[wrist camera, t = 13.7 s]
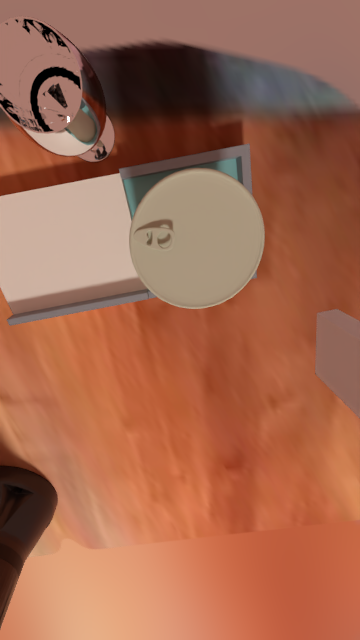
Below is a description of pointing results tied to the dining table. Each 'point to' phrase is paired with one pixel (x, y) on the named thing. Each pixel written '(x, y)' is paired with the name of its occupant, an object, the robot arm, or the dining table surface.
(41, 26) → the wineglass
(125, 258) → the two-tone serving tray
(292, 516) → the dining table surface
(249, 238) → the can
